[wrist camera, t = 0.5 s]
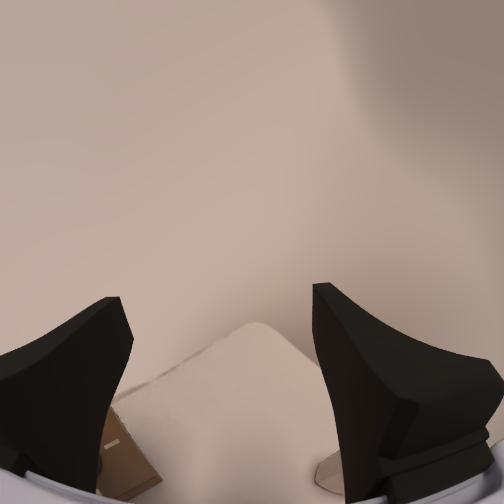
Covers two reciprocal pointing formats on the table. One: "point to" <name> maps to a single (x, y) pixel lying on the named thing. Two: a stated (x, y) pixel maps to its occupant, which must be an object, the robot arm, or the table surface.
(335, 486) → the eye dropper bottle
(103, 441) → the dial panel
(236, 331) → the table surface
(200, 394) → the table surface
